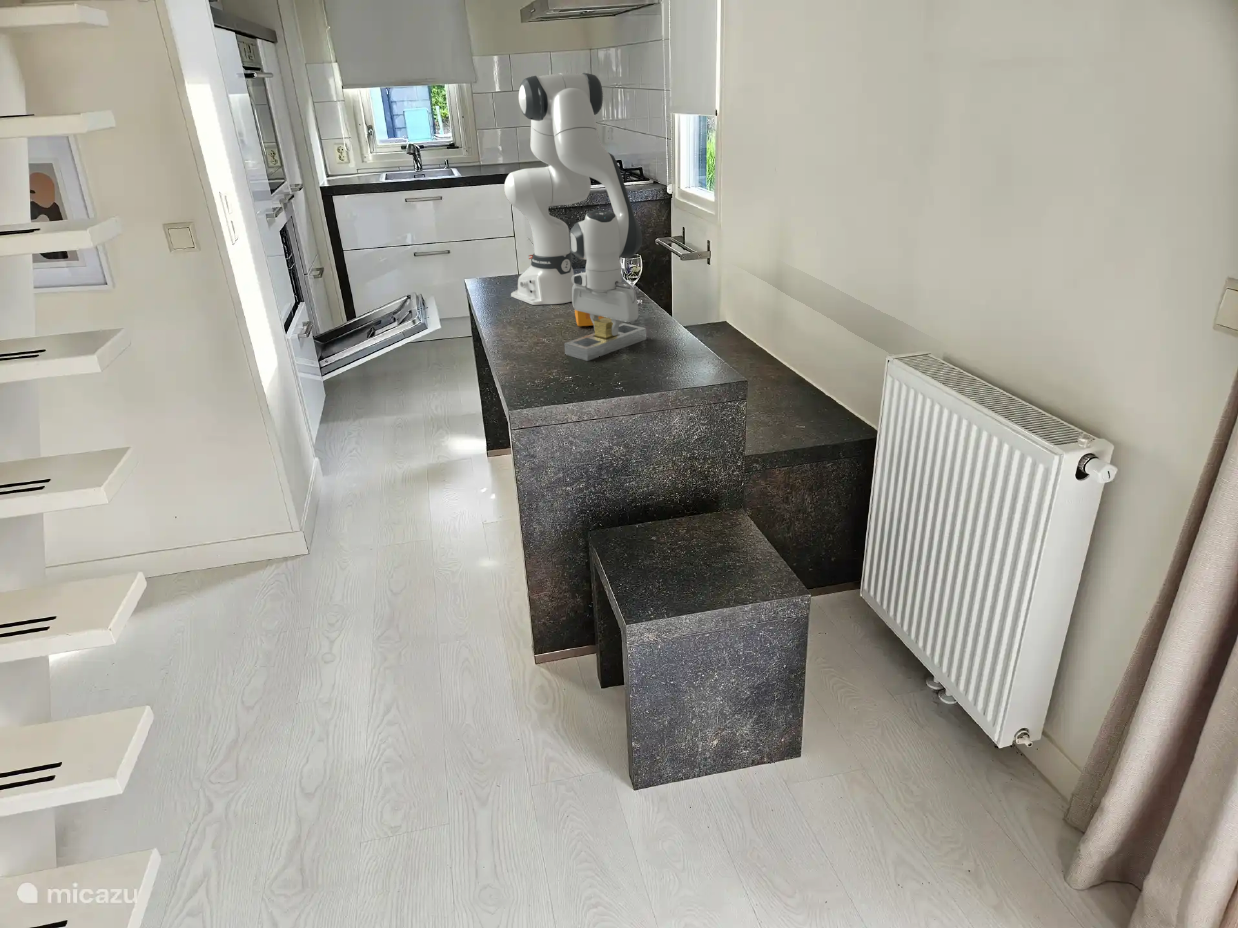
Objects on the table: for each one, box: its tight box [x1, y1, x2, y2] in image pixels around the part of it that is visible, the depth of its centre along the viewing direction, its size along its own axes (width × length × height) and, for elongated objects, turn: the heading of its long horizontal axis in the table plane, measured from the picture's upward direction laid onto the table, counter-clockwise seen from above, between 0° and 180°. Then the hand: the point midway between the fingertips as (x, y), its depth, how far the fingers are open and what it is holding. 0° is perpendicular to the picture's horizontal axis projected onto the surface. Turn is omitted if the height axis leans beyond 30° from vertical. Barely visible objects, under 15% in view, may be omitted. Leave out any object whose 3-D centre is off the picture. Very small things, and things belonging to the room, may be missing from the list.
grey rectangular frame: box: [563, 322, 647, 361], centre depth 209 cm, size 8×22×3 cm, turn 137°
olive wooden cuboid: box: [593, 317, 617, 340], centre depth 208 cm, size 4×4×5 cm
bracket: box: [574, 309, 605, 327], centre depth 227 cm, size 11×7×12 cm, turn 8°
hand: (605, 332), depth 208 cm, fingers closed on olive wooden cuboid, 4 cm apart
